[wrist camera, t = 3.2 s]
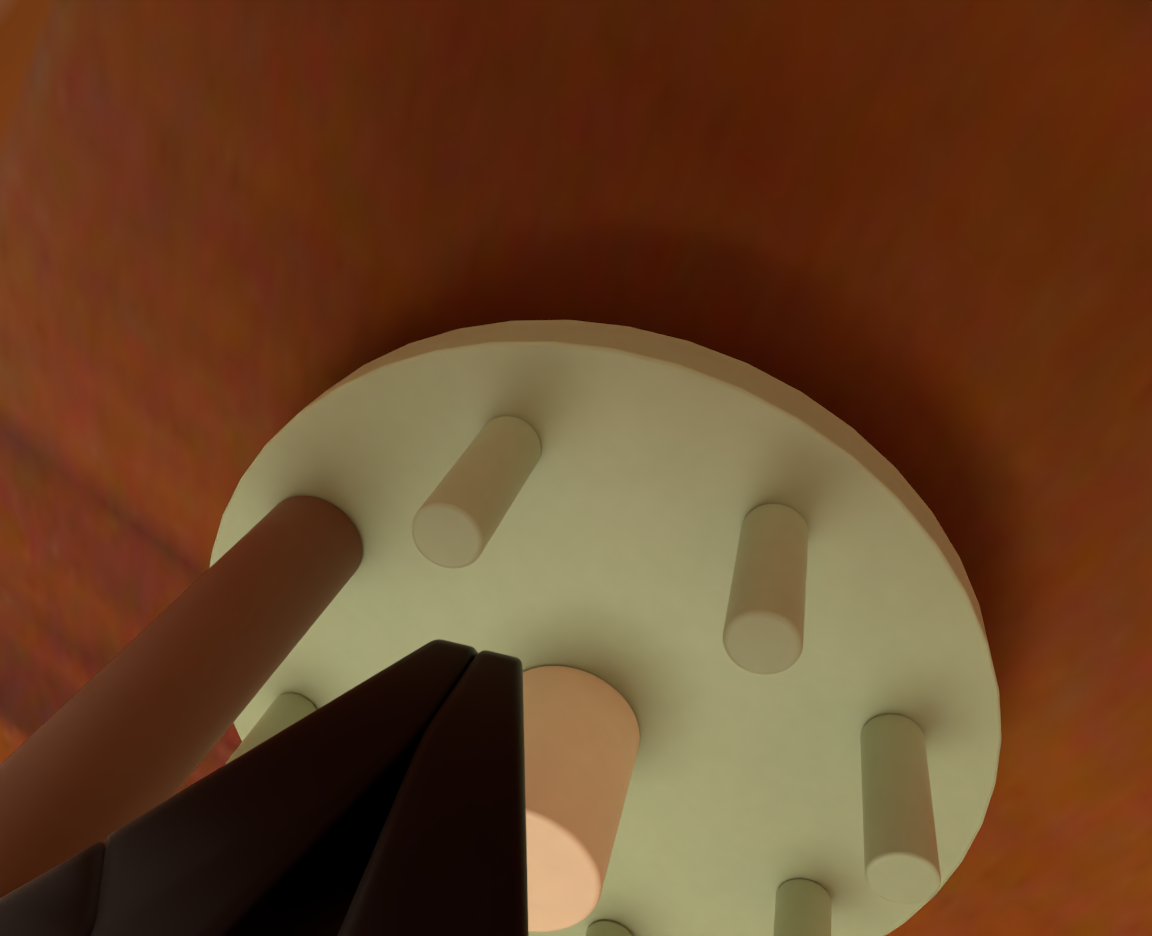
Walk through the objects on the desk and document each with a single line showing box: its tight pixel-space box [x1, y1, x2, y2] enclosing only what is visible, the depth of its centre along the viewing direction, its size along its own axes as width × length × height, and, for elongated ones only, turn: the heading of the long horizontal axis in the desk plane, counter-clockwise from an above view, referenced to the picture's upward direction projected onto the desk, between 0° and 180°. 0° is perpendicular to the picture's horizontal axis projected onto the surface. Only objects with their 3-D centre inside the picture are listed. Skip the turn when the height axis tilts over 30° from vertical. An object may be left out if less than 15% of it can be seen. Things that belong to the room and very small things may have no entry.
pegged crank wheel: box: [0, 320, 1002, 936], centre depth 13 cm, size 13×13×8 cm
